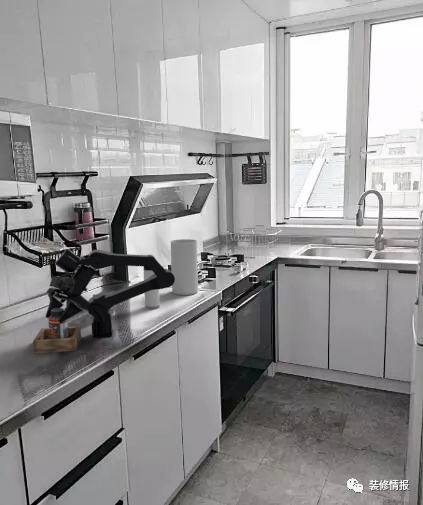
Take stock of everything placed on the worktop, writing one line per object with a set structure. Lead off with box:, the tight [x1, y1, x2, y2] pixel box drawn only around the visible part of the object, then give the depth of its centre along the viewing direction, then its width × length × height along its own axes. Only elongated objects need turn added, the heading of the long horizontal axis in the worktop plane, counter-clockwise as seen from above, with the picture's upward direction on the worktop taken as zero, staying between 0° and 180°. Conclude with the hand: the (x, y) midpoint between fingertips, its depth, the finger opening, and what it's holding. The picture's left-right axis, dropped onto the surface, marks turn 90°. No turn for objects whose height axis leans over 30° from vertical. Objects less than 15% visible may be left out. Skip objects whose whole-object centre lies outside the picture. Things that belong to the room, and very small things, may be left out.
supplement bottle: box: [47, 307, 69, 339], centre depth 153 cm, size 6×6×11 cm
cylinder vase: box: [170, 238, 199, 296], centre depth 221 cm, size 12×12×25 cm
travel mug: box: [143, 266, 161, 310], centre depth 197 cm, size 6×7×20 cm
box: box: [32, 325, 82, 354], centre depth 154 cm, size 13×13×4 cm
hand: (52, 319), depth 152 cm, fingers open, 8 cm apart
